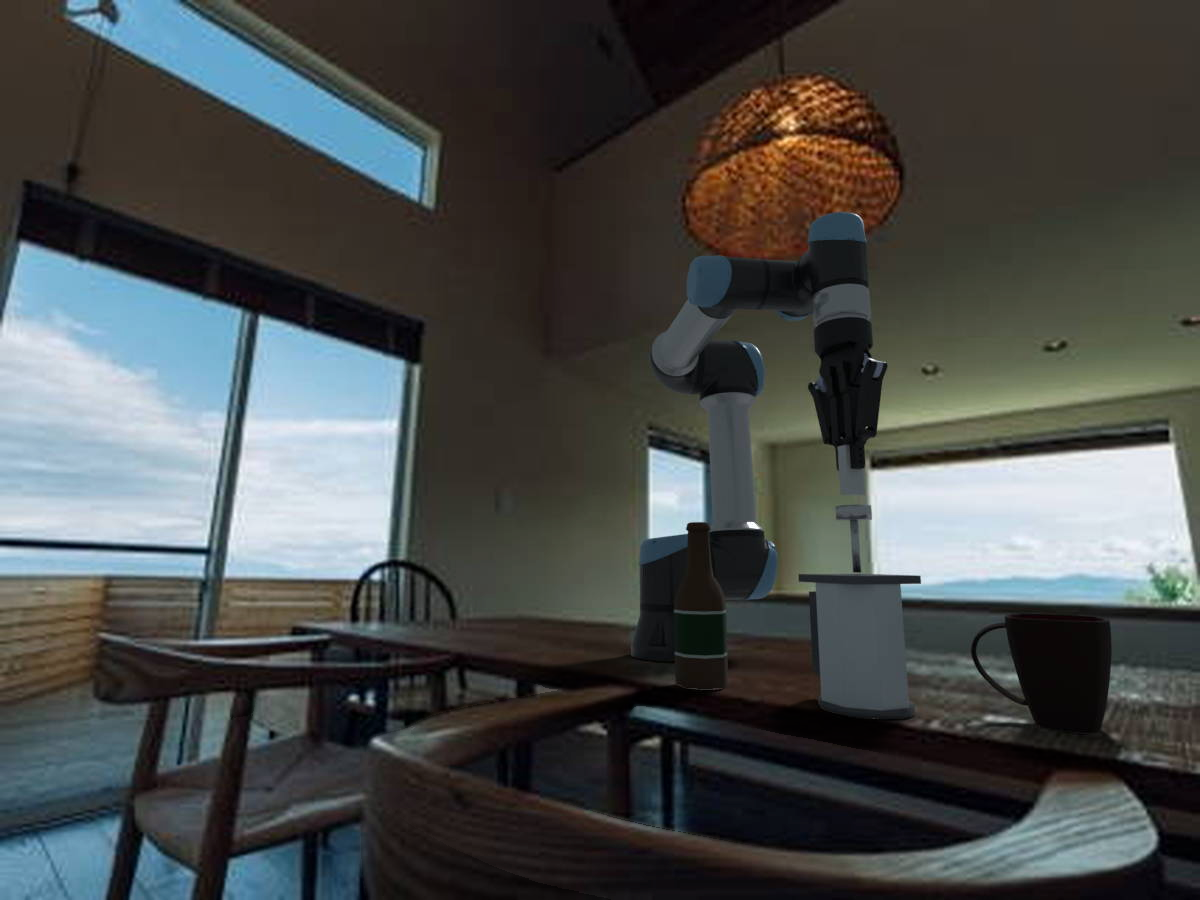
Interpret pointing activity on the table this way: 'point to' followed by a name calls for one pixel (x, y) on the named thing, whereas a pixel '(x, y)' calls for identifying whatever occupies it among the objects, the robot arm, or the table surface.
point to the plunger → (854, 527)
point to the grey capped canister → (860, 644)
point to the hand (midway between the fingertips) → (852, 494)
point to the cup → (1058, 668)
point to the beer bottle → (700, 618)
